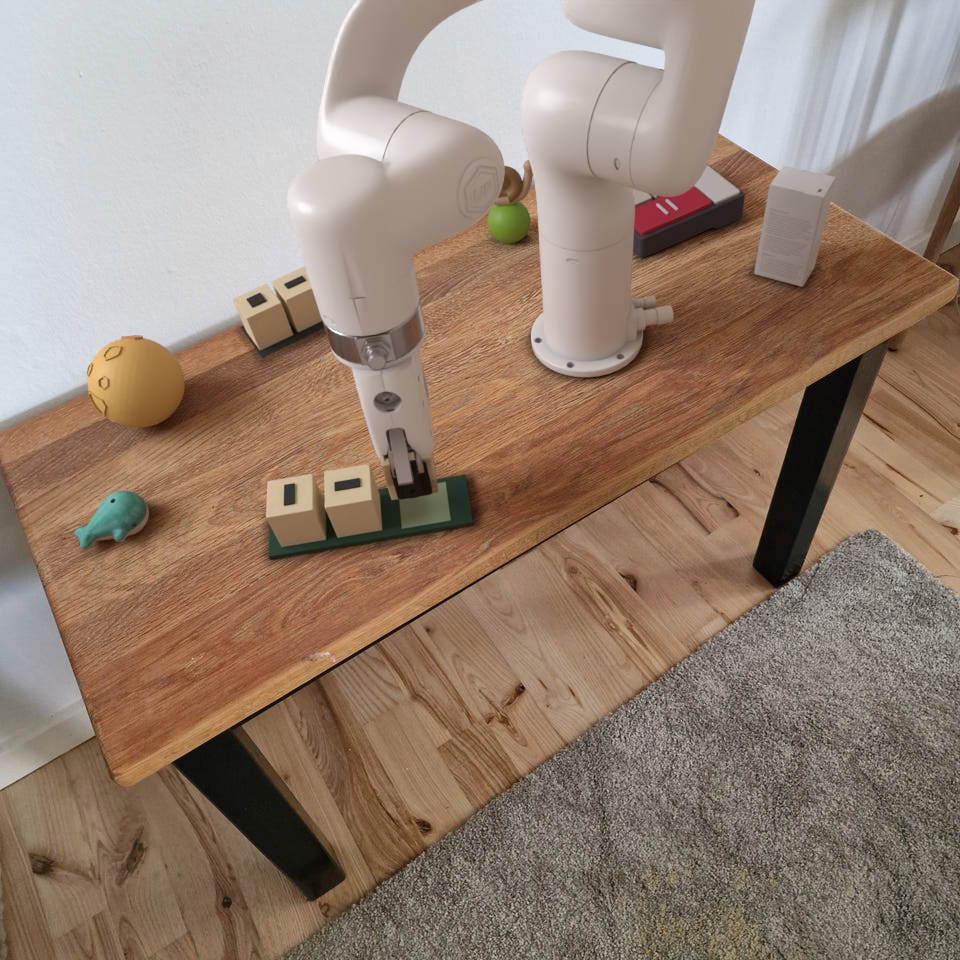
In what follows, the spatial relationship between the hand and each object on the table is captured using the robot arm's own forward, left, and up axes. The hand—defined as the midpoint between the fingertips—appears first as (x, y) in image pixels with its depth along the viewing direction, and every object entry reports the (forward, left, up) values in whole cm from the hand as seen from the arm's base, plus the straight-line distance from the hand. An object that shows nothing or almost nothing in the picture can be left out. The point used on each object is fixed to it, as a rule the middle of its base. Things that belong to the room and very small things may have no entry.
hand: (412, 472), depth 77 cm
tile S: (0, 0, -1) cm, 1 cm away
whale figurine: (+31, -4, -6) cm, 32 cm away
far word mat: (+9, -33, -6) cm, 35 cm away
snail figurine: (-16, -41, -6) cm, 45 cm away
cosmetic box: (-46, -26, -6) cm, 53 cm away
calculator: (-36, -40, -6) cm, 54 cm away
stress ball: (+29, -20, -6) cm, 36 cm away
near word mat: (+5, 0, -6) cm, 8 cm away
